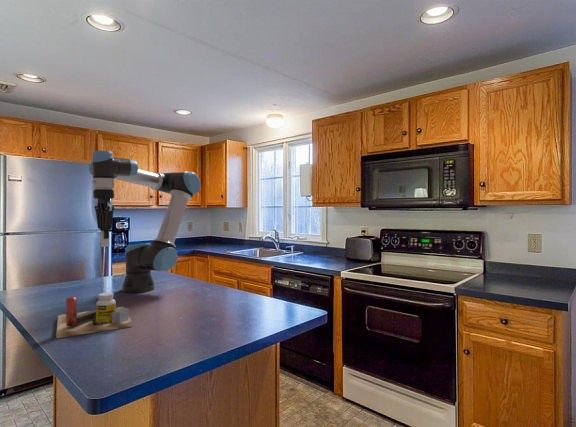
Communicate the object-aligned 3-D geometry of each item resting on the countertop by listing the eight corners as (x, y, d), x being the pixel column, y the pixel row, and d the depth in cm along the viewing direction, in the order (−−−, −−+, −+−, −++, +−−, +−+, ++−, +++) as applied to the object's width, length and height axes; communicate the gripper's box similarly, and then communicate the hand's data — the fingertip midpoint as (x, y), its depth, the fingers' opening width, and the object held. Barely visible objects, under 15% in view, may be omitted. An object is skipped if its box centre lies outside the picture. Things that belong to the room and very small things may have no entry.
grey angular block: (120, 323, 126) (120, 307, 126) (128, 323, 126) (128, 308, 125) (111, 328, 121) (111, 311, 121) (119, 328, 121) (119, 312, 121)
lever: (103, 311, 132) (103, 287, 132) (110, 312, 131) (110, 288, 131) (63, 325, 116) (63, 298, 116) (71, 326, 115) (71, 299, 115)
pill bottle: (95, 329, 120) (95, 296, 120) (96, 323, 125) (96, 292, 125) (116, 326, 123) (115, 294, 123) (115, 321, 128) (115, 291, 128)
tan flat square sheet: (123, 310, 142) (123, 305, 142) (131, 326, 123) (131, 320, 123) (58, 319, 130) (58, 314, 130) (56, 338, 111) (56, 332, 111)
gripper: (87, 189, 146) (89, 246, 147) (100, 188, 137) (102, 248, 138) (106, 189, 151) (107, 244, 152) (120, 188, 143) (121, 246, 144)
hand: (105, 246), depth 145 cm, fingers closed
